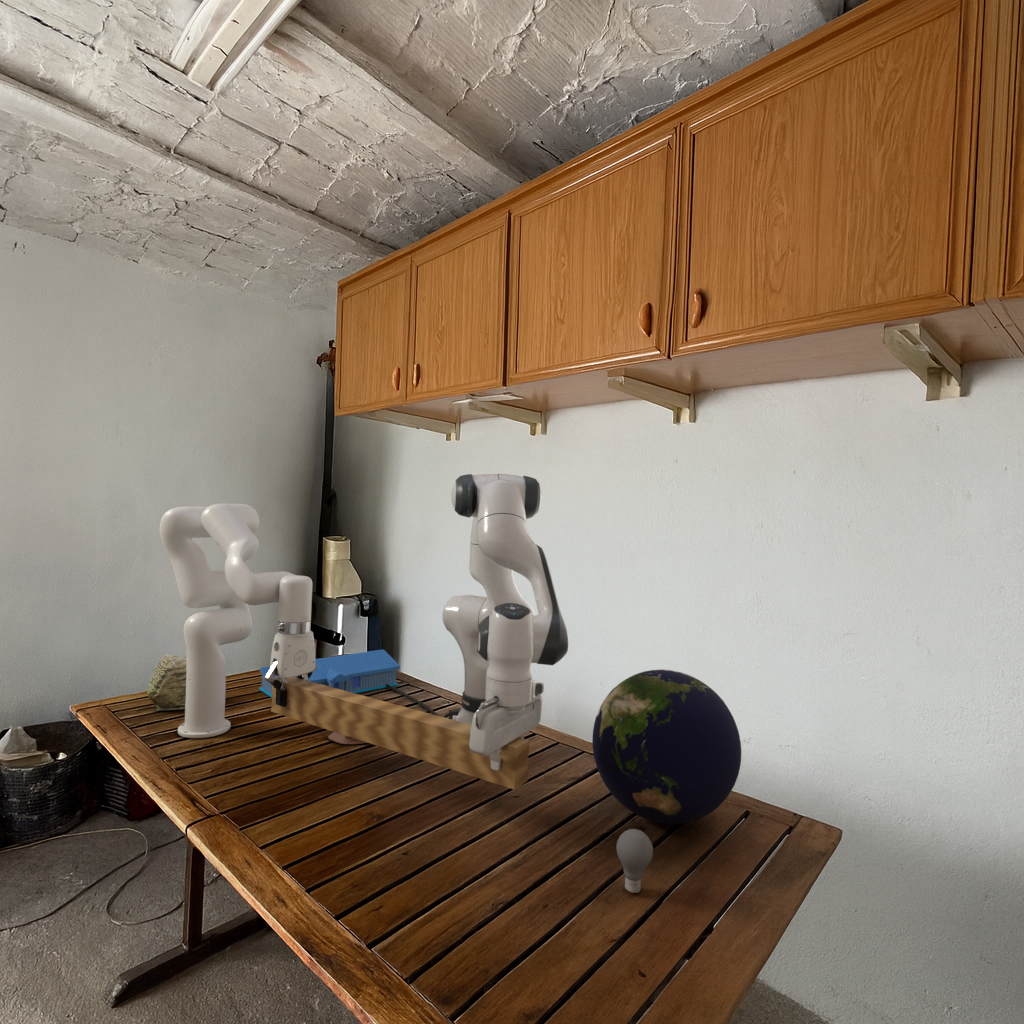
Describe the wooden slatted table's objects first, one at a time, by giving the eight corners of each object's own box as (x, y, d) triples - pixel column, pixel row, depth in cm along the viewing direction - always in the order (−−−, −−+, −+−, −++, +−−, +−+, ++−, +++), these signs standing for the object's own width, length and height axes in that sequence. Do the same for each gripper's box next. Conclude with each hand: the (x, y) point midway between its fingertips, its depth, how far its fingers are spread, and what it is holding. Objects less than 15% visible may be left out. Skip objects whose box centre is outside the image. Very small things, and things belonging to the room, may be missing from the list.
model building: (289, 709, 186) (291, 675, 185) (258, 688, 204) (259, 657, 204) (403, 687, 212) (405, 657, 212) (366, 670, 230) (368, 643, 230)
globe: (571, 831, 124) (578, 679, 123) (607, 773, 151) (613, 648, 151) (733, 872, 112) (742, 704, 112) (740, 800, 140) (747, 665, 139)
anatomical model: (322, 726, 163) (343, 712, 174) (321, 741, 163) (342, 726, 174) (370, 732, 160) (388, 717, 171) (370, 747, 160) (388, 732, 171)
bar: (271, 711, 153) (272, 679, 152) (287, 706, 157) (288, 675, 156) (514, 789, 116) (516, 747, 116) (527, 780, 120) (529, 740, 120)
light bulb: (610, 879, 108) (613, 822, 108) (644, 879, 109) (647, 822, 109) (619, 902, 102) (622, 840, 102) (655, 901, 103) (658, 840, 103)
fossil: (144, 707, 182) (145, 655, 182) (212, 696, 194) (213, 647, 194) (151, 716, 175) (153, 662, 175) (221, 703, 188) (223, 653, 188)
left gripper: (274, 635, 143) (270, 715, 143) (332, 624, 157) (328, 697, 158) (253, 630, 147) (249, 708, 147) (311, 620, 161) (307, 691, 162)
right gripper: (492, 708, 110) (488, 787, 110) (548, 682, 127) (545, 750, 127) (462, 701, 113) (459, 777, 113) (521, 676, 130) (518, 743, 131)
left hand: (290, 701), depth 152 cm, fingers closed on bar, 4 cm apart
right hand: (505, 763), depth 120 cm, fingers closed on bar, 5 cm apart
